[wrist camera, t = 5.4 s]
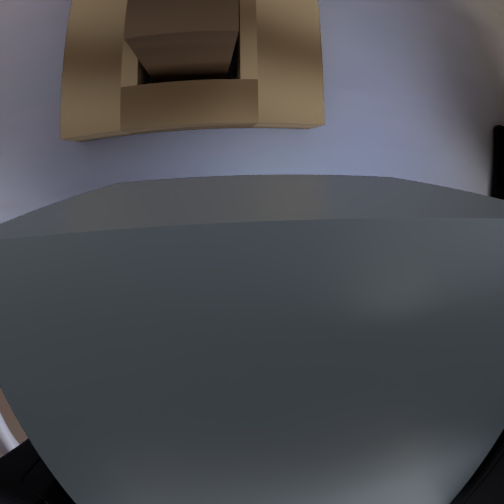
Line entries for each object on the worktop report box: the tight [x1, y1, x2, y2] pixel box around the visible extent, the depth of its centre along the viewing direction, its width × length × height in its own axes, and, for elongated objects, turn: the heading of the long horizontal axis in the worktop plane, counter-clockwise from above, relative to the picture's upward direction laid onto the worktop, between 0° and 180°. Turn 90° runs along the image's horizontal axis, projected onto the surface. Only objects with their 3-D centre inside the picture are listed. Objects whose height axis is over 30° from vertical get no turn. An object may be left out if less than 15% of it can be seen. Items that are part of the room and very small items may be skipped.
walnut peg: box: [124, 0, 239, 83], centre depth 10 cm, size 5×4×7 cm
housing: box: [0, 175, 504, 504], centre depth 6 cm, size 10×7×6 cm
